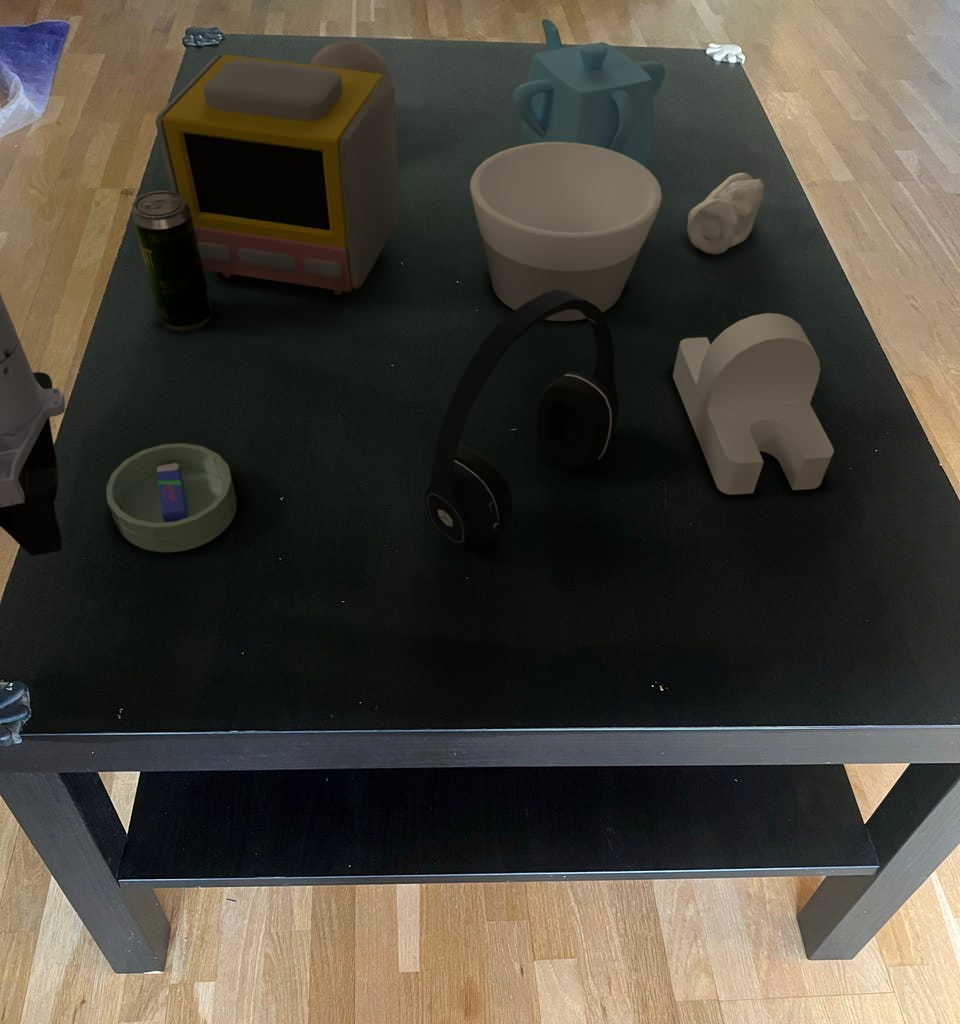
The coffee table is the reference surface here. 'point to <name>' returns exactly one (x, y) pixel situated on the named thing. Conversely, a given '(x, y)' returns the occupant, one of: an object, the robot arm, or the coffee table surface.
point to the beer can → (172, 259)
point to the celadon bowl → (141, 503)
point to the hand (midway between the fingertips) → (44, 511)
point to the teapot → (589, 97)
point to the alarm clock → (285, 169)
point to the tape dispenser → (754, 402)
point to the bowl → (562, 221)
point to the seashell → (351, 58)
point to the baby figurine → (726, 214)
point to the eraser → (172, 492)
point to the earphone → (560, 425)
